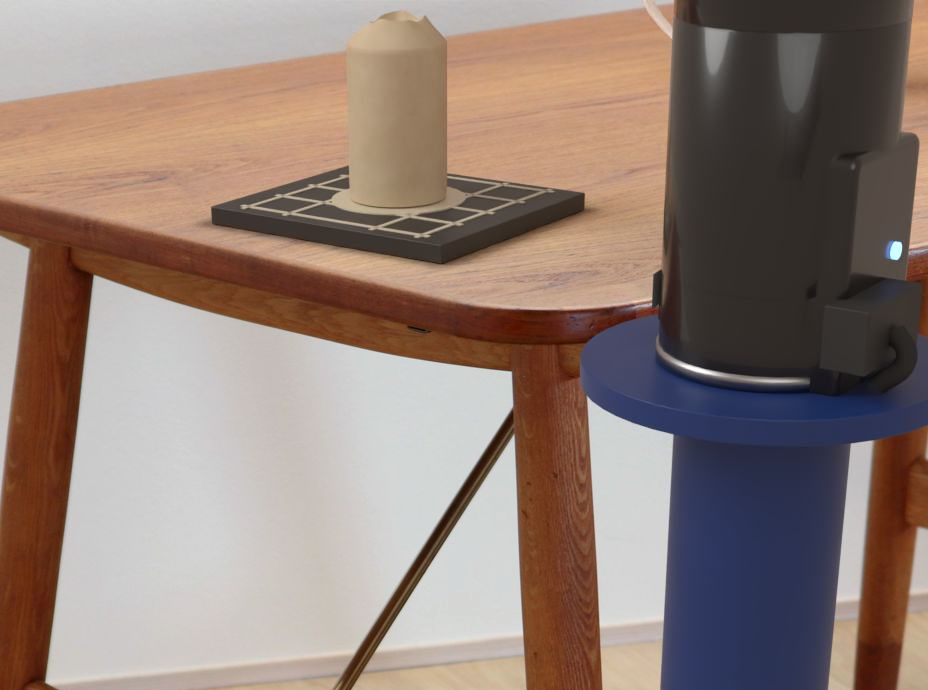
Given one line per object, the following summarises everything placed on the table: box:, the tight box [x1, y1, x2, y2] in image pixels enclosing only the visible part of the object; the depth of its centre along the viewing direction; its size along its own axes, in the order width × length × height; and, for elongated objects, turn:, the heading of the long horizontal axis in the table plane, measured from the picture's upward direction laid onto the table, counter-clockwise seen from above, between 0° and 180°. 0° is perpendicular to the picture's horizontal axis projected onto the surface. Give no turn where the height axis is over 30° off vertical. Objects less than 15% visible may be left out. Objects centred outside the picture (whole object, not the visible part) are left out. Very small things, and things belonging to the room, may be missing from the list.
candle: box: [345, 9, 448, 207], centre depth 107 cm, size 6×6×10 cm
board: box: [210, 164, 586, 265], centre depth 109 cm, size 16×14×1 cm
